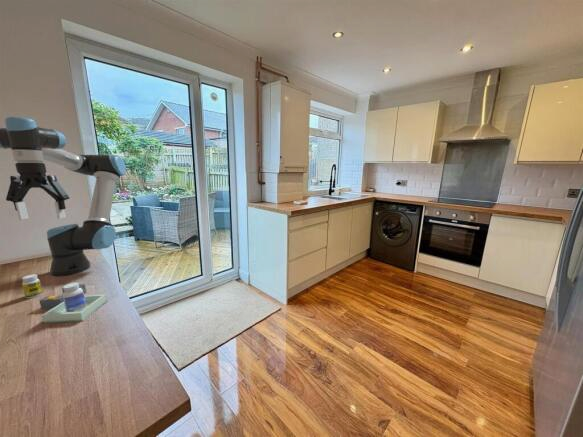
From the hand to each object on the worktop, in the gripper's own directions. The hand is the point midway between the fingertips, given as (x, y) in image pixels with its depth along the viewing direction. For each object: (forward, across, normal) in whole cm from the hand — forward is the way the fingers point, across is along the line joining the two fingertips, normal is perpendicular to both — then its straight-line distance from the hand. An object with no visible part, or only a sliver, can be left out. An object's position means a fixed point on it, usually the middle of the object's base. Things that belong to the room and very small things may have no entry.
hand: (43, 218), depth 92 cm
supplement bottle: (+32, -9, -1) cm, 33 cm away
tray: (+31, +18, -15) cm, 39 cm away
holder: (+32, +7, -6) cm, 33 cm away
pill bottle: (+31, +18, -15) cm, 39 cm away
